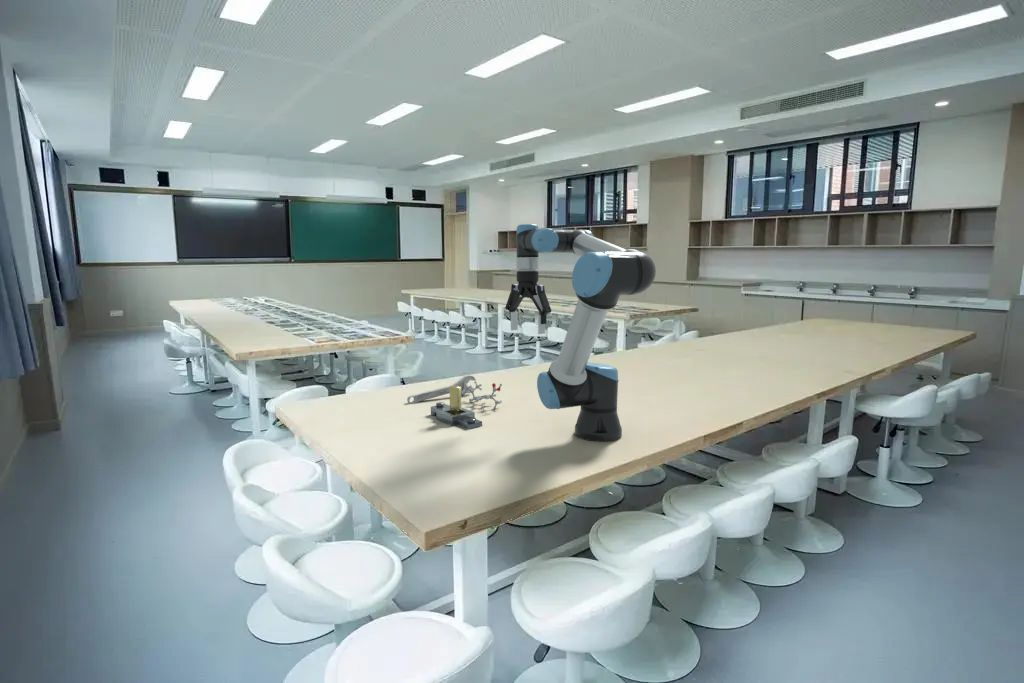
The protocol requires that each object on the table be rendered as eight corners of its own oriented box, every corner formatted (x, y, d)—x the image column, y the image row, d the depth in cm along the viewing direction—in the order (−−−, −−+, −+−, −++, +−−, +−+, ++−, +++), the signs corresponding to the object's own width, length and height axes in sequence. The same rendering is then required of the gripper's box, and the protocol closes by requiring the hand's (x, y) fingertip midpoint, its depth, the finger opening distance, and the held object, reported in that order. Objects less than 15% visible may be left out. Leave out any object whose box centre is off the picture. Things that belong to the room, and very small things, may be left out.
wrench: (408, 410, 218) (475, 391, 232) (410, 411, 216) (477, 392, 231) (405, 390, 216) (473, 373, 231) (407, 391, 214) (475, 374, 229)
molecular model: (458, 402, 218) (458, 377, 218) (480, 400, 224) (481, 376, 223) (483, 412, 202) (484, 385, 202) (506, 409, 208) (507, 383, 207)
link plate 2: (486, 424, 189) (486, 417, 189) (463, 430, 183) (463, 423, 183) (458, 414, 201) (458, 407, 201) (436, 419, 195) (436, 412, 195)
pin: (463, 420, 194) (463, 387, 192) (454, 422, 192) (453, 388, 190) (457, 417, 197) (456, 384, 195) (447, 419, 195) (447, 386, 193)
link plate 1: (474, 420, 194) (474, 409, 193) (452, 425, 188) (452, 414, 187) (448, 410, 206) (448, 400, 205) (426, 415, 200) (426, 404, 199)
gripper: (562, 270, 183) (561, 334, 186) (510, 269, 201) (511, 327, 204) (546, 270, 178) (546, 336, 181) (495, 270, 196) (495, 329, 199)
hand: (527, 331), depth 192 cm, fingers open, 13 cm apart
